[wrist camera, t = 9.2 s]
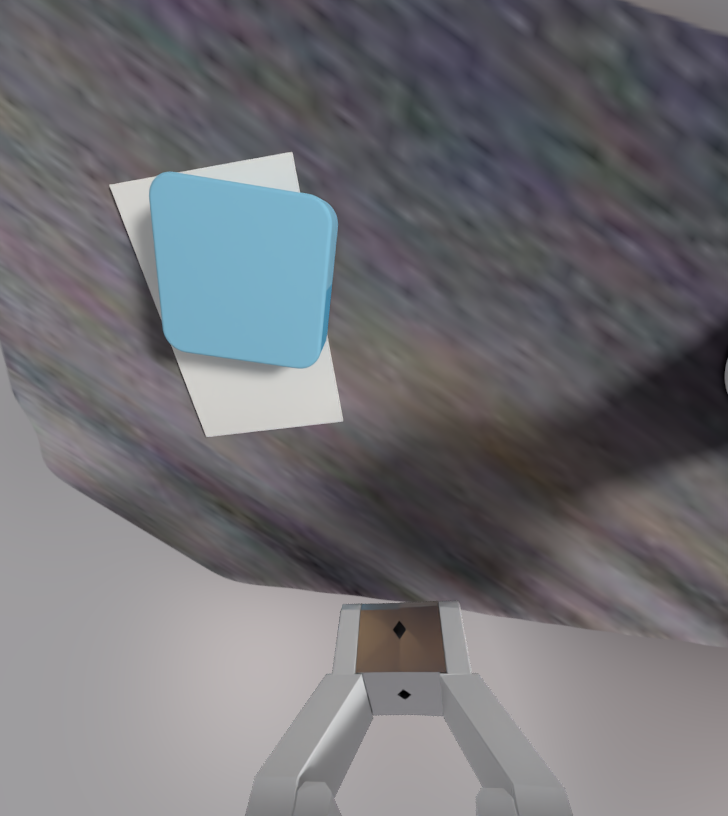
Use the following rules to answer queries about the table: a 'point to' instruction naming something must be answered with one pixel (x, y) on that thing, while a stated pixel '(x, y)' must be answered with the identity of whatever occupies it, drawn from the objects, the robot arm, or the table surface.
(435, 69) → the table surface
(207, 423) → the mat
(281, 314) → the data package
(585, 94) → the table surface
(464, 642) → the robot arm
